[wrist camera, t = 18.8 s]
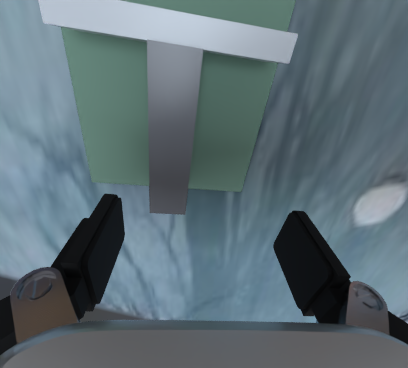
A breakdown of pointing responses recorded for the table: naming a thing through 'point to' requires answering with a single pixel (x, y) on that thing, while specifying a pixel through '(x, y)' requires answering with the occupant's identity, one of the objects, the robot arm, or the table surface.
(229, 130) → the mat
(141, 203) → the table surface
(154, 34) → the scraper
